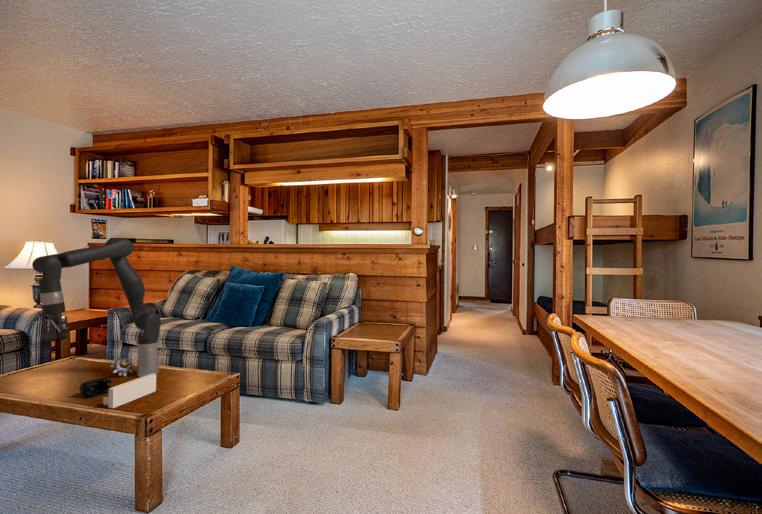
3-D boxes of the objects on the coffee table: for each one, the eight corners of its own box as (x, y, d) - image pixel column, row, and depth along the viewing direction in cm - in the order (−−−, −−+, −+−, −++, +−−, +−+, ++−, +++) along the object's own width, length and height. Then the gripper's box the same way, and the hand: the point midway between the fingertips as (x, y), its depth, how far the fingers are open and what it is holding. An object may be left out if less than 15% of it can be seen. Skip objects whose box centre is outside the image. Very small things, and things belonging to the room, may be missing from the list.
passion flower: (124, 386, 203) (114, 372, 196) (109, 380, 206) (99, 366, 199) (142, 370, 211) (133, 355, 204) (127, 364, 215) (118, 350, 208)
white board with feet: (143, 389, 183) (143, 372, 183) (156, 390, 181) (156, 373, 181) (98, 406, 162) (99, 387, 162) (112, 408, 160) (113, 389, 160)
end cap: (102, 389, 182) (102, 375, 182) (112, 392, 179) (112, 377, 179) (79, 396, 173) (79, 381, 173) (89, 399, 170) (89, 384, 170)
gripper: (71, 300, 164) (77, 337, 165) (55, 300, 171) (60, 336, 172) (50, 304, 157) (56, 343, 159) (33, 304, 164) (39, 341, 165)
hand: (58, 339), depth 165 cm, fingers open, 8 cm apart
